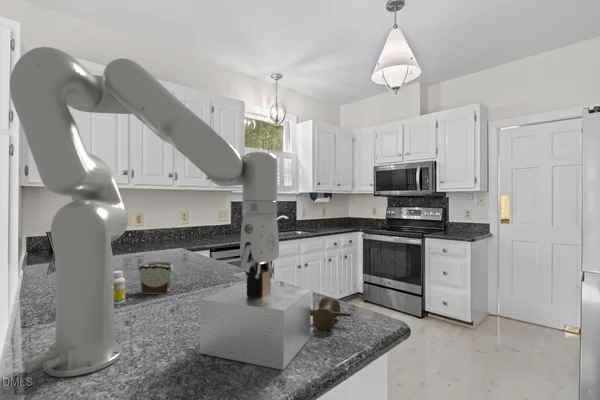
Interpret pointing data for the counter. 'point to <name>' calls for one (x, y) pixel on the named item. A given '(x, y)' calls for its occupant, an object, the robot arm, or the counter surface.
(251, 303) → the box with wooden handle
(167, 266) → the food container
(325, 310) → the kendama
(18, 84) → the robot arm
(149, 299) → the counter surface
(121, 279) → the supplement bottle
